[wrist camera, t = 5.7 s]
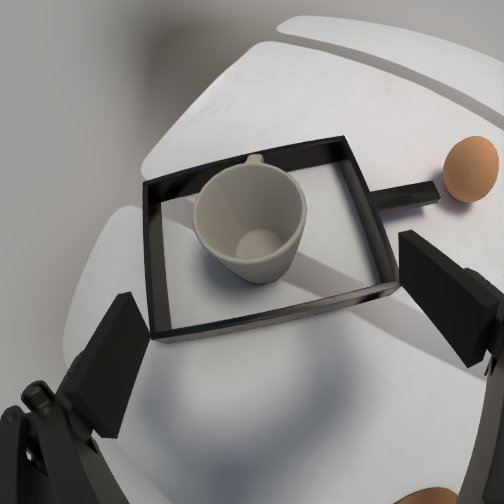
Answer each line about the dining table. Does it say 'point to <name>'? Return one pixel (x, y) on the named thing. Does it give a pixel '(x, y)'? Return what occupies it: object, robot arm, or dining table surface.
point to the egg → (471, 169)
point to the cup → (251, 219)
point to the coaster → (430, 497)
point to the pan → (285, 160)
